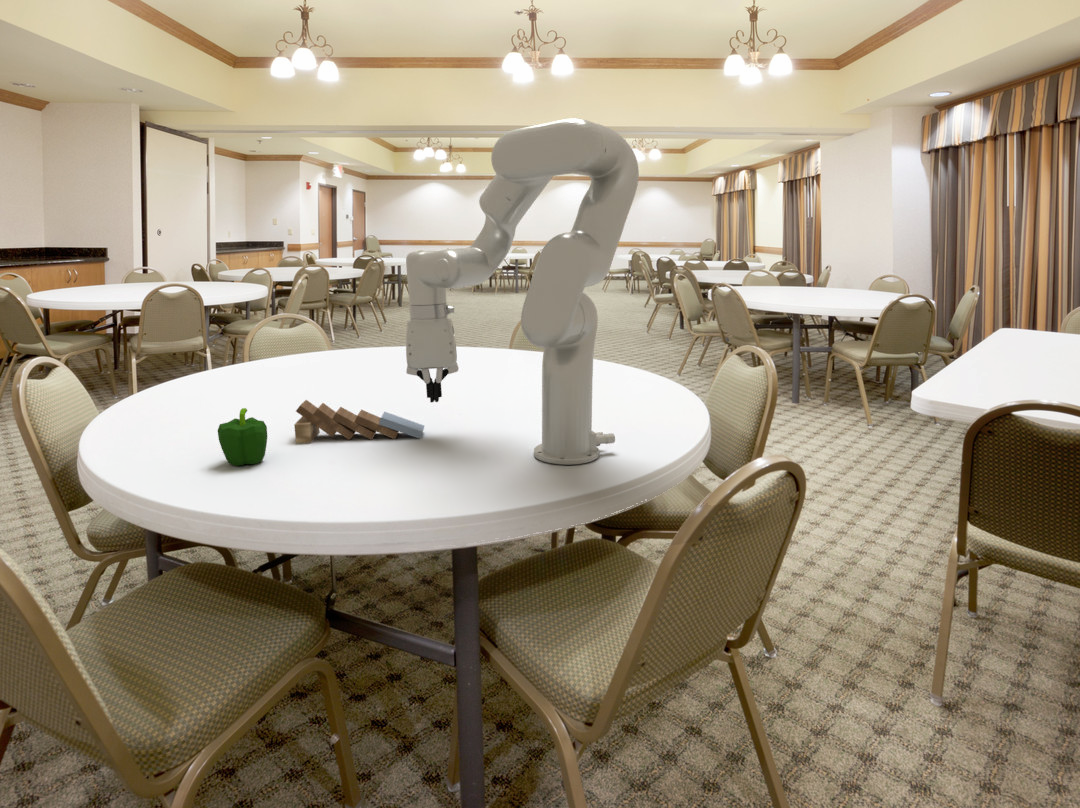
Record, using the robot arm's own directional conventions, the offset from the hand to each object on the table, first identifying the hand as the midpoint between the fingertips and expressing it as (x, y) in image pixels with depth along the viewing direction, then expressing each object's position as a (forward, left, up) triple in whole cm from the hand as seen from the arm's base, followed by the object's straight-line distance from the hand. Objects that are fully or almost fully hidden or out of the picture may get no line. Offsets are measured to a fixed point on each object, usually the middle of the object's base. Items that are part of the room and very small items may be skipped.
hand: (434, 400), depth 148 cm
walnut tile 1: (+8, -3, -7) cm, 11 cm away
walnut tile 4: (+20, -6, -6) cm, 22 cm away
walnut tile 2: (+12, -4, -7) cm, 15 cm away
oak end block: (+26, -7, -8) cm, 28 cm away
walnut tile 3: (+16, -5, -7) cm, 19 cm away
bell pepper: (+37, +6, -8) cm, 38 cm away
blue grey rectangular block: (+3, -1, -7) cm, 8 cm away
